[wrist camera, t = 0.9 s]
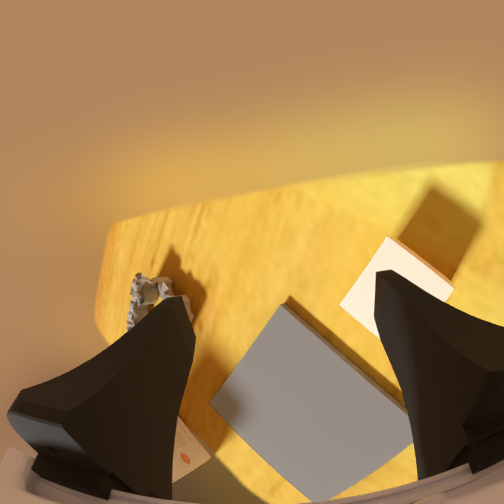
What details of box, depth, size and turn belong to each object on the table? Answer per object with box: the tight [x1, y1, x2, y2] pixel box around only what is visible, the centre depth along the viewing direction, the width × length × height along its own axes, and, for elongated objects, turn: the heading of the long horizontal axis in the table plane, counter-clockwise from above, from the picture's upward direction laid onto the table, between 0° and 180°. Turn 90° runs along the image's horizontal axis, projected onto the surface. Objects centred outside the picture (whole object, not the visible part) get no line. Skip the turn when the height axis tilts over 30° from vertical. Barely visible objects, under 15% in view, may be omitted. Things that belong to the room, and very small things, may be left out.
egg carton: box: [126, 273, 194, 331], centre depth 33 cm, size 11×8×4 cm
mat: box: [209, 303, 413, 502], centre depth 24 cm, size 16×14×1 cm
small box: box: [172, 416, 211, 483], centre depth 28 cm, size 8×6×13 cm
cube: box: [340, 236, 454, 339], centre depth 18 cm, size 5×5×5 cm
